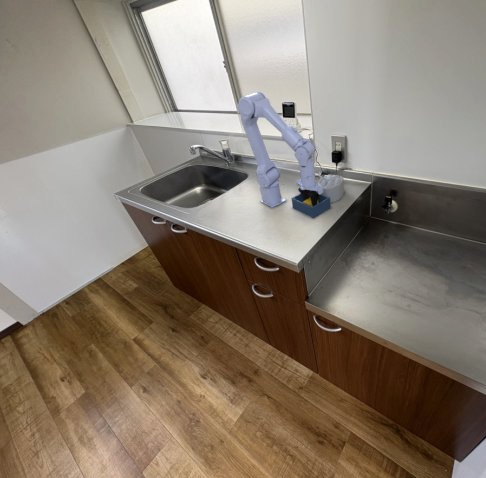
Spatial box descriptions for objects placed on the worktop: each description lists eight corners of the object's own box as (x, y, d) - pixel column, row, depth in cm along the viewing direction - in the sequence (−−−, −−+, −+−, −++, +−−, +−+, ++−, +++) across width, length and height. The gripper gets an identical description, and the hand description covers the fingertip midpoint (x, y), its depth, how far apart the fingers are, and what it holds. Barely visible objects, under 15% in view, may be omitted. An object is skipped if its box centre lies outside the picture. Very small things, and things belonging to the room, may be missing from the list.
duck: (303, 207, 107) (302, 196, 104) (313, 202, 110) (312, 191, 107) (310, 210, 105) (308, 199, 101) (320, 205, 107) (319, 193, 104)
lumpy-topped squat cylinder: (346, 190, 116) (345, 173, 111) (335, 204, 107) (335, 186, 102) (325, 188, 121) (324, 171, 115) (314, 201, 112) (312, 183, 107)
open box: (292, 208, 109) (291, 198, 106) (309, 198, 114) (308, 189, 111) (313, 218, 101) (312, 208, 98) (330, 208, 106) (330, 197, 103)
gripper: (288, 173, 101) (293, 202, 109) (312, 182, 91) (316, 213, 100) (301, 167, 104) (305, 196, 112) (326, 175, 95) (328, 206, 103)
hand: (311, 204), depth 106 cm, fingers closed on duck, 4 cm apart
